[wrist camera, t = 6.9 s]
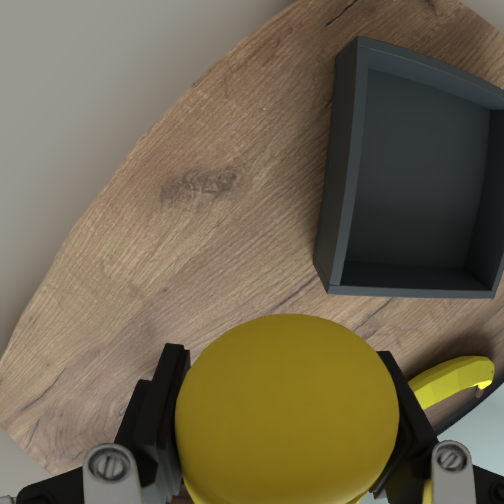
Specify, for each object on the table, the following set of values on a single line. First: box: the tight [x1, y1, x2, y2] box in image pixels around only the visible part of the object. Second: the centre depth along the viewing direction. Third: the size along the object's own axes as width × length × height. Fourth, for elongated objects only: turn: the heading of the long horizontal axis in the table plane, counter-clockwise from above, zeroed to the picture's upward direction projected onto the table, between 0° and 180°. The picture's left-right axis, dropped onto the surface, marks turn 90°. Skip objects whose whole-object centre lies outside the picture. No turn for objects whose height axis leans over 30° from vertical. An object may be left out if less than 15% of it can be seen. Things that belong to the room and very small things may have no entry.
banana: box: [407, 356, 494, 409], centre depth 32 cm, size 5×17×15 cm
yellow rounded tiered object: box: [175, 314, 399, 504], centre depth 8 cm, size 8×6×6 cm
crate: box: [313, 36, 504, 299], centre depth 22 cm, size 18×17×6 cm
